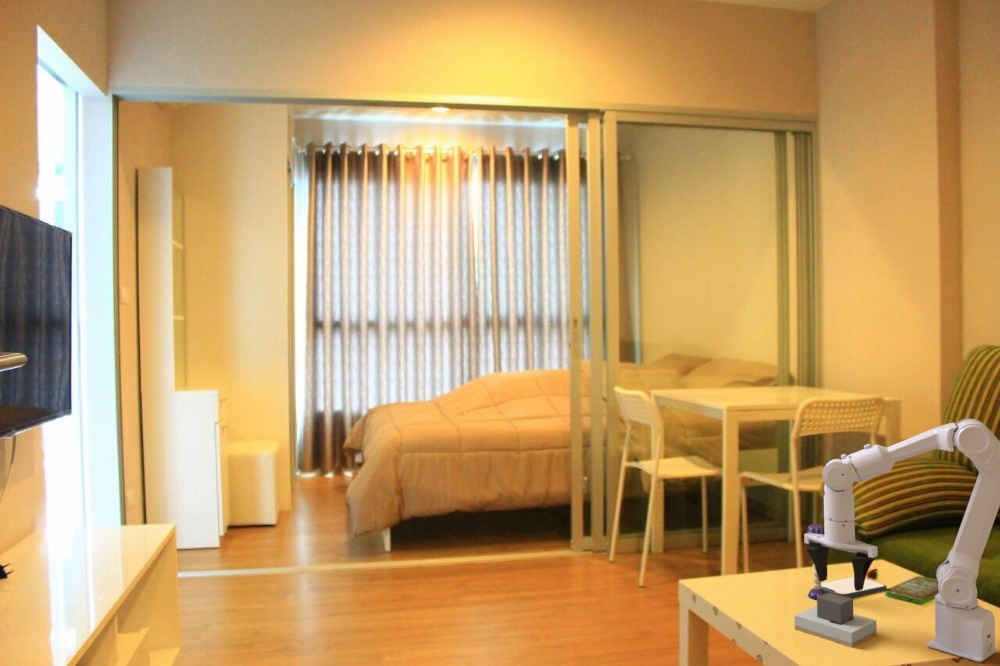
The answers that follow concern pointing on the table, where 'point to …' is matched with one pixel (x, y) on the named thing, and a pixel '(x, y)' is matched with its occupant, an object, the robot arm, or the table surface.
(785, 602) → the table surface
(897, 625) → the table surface
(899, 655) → the table surface
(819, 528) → the toy lamp
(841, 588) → the phone case
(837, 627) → the socket
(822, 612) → the plug
